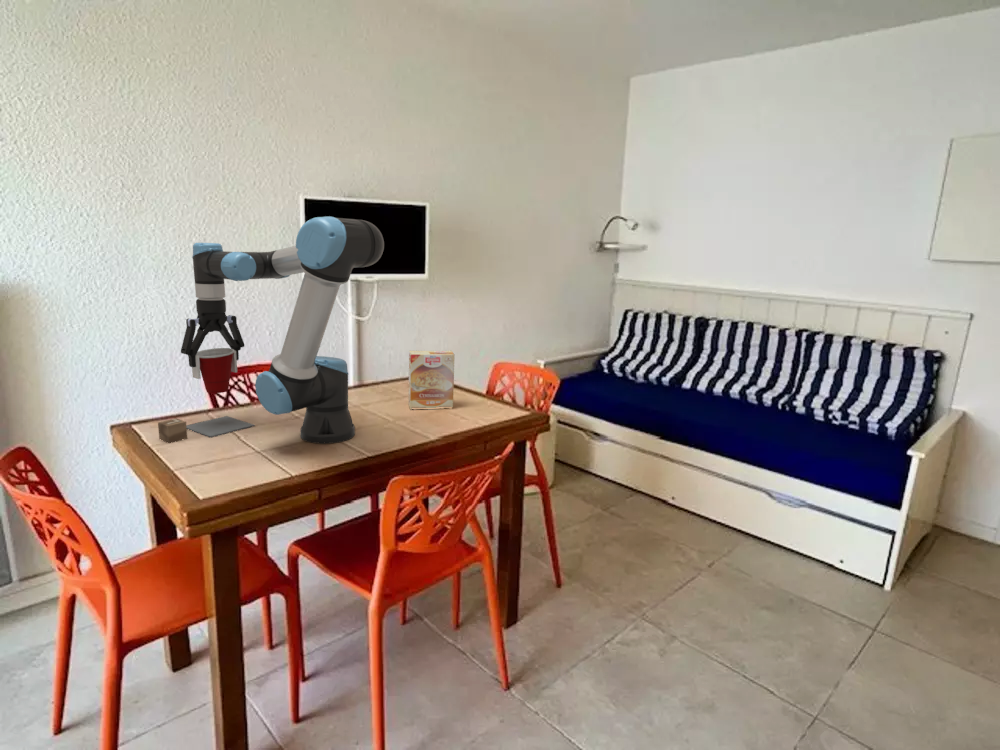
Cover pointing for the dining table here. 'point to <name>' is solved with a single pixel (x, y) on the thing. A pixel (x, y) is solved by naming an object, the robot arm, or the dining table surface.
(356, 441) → the dining table surface
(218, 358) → the plastic cup
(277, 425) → the dining table surface
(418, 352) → the coffeecake box
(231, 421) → the mat
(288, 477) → the dining table surface
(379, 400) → the dining table surface
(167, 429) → the letter block
